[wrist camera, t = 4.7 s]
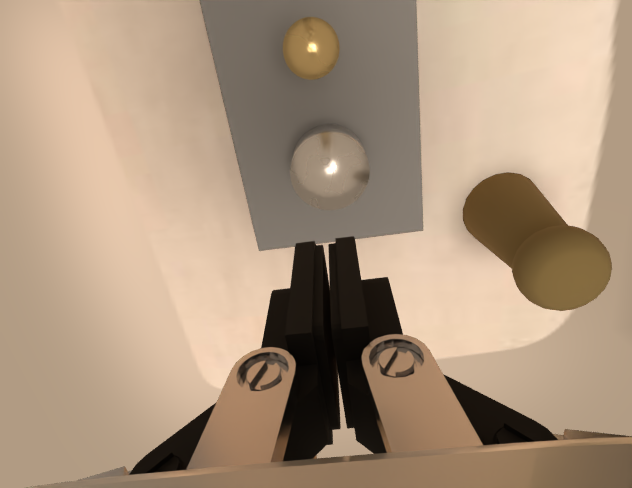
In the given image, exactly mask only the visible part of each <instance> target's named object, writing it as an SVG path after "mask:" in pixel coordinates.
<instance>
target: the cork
mask: <svg viewBox="0 0 632 488" xmlns="http://www.w3.org/2000/svg"><path fill="white" fill-rule="evenodd" d="M463 221H464V224H465V226H466V228H467V230H468V231H469V232H470V233H471V234H472V235H473V236H474V237H475V238H476V239H477V240H478V241H480V242H481V243H482V244H483V245H484V246H486V247H487V248H488V249H489V250H490V251H491V252H493V253H494V254H495V255H496V256H497V257H499V258H500V259H501V260H502V261H503V262H505V263H506V264H507V265H508V266H509V267H511V268H512V273H513V277H514V280H515V282H516V285H517V287H518V289H519V290H520V292H521V293H522V294H523V295H524V296H525V297H526V298H527V299H528V300H529V301H531V302H532V303H534V304H536V305H538V306H540V307H542V308H545V309H551V310H559V311H564V310H572V309H576V308H578V307H581V306H584V305H586V304H587V303H589V302H590V301H592V300H594V299H595V298H597V296H598V295H599V294H600V293H601V292H602V291H603V290H604V289H605V287H606V285H607V284H608V282H609V280H610V276H611V270H612V263H611V259H610V255H609V252H608V251H607V249H606V247H605V246H604V245H603V244H602V242H601V241H600V240H599V239H598V238H597V237H595V236H594V235H593V234H591V233H589V232H587V231H585V230H583V229H581V228H577V227H574V226H568V225H567V224H566V222H565V221H564V220H563V219H562V218H561V216H560V215H559V214H558V213H557V211H556V210H555V209H554V208H553V207H552V205H551V204H550V203H549V202H548V200H547V199H546V198H545V197H544V196H543V194H542V193H541V192H540V191H539V189H538V188H537V187H536V186H535V185H534V183H533V182H532V181H531V180H530V179H528V178H526V177H525V176H523V175H521V174H515V173H502V174H496V175H494V176H492V177H489V178H487V179H485V180H483V181H482V182H481V183H480V184H478V185H477V186H476V187H475V188H474V189H473V190H472V192H471V193H470V194H469V196H468V197H467V199H466V202H465V205H464V208H463Z"/></svg>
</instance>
